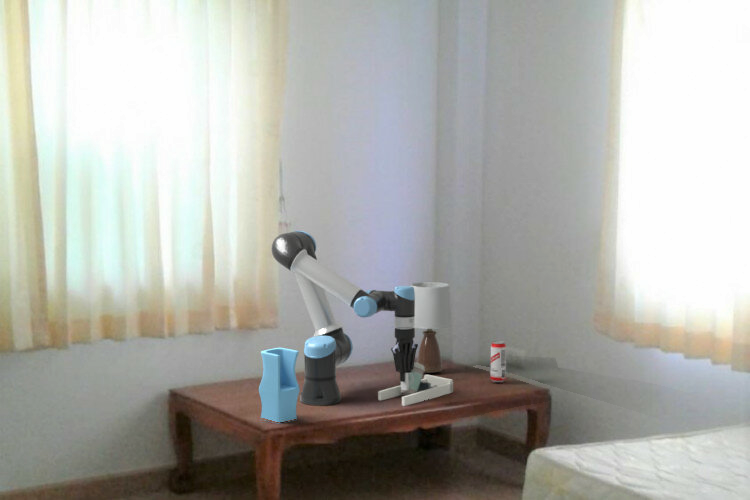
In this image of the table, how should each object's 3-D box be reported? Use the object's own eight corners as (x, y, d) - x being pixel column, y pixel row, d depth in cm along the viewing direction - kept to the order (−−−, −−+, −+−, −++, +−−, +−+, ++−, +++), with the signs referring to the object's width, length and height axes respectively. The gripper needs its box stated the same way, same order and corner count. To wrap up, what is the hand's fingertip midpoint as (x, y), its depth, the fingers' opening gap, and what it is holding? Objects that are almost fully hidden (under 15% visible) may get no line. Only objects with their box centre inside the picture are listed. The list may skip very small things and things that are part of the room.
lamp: (410, 364, 402) (410, 281, 398) (452, 365, 399) (452, 282, 395) (405, 374, 383) (405, 287, 380) (449, 375, 381) (450, 288, 377)
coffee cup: (392, 392, 346) (400, 362, 350) (411, 399, 350) (418, 369, 354) (404, 390, 339) (411, 359, 343) (423, 397, 342) (430, 367, 347)
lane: (404, 407, 333) (404, 393, 332) (378, 400, 341) (378, 387, 341) (452, 392, 354) (453, 379, 353) (427, 386, 363) (427, 374, 362)
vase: (278, 428, 306) (277, 355, 304) (259, 423, 313) (258, 351, 310) (299, 422, 314) (299, 351, 311) (280, 416, 320) (279, 347, 318)
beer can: (498, 383, 368) (499, 344, 366) (487, 380, 372) (487, 342, 371) (508, 380, 372) (509, 342, 370) (497, 378, 376) (497, 340, 375)
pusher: (428, 396, 346) (428, 383, 345) (410, 392, 352) (410, 379, 352) (445, 391, 353) (445, 379, 353) (427, 387, 359) (427, 375, 359)
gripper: (400, 330, 332) (400, 394, 334) (423, 326, 342) (423, 388, 344) (385, 328, 337) (385, 391, 339) (408, 324, 347) (408, 385, 349)
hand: (404, 389), depth 341 cm, fingers closed
